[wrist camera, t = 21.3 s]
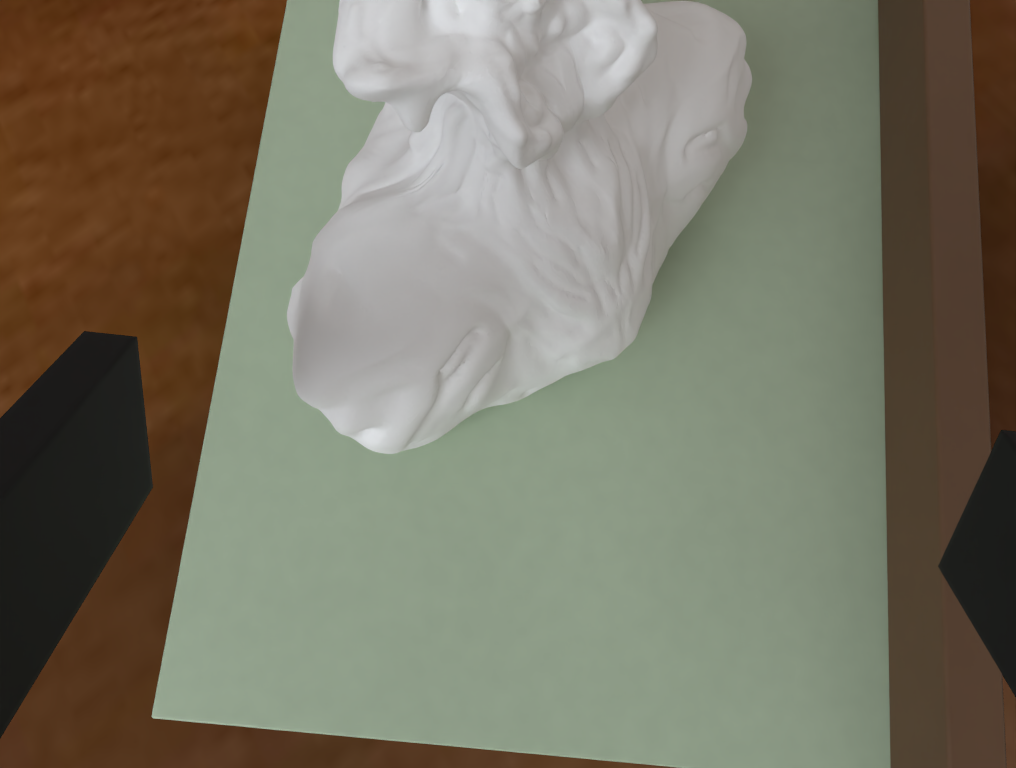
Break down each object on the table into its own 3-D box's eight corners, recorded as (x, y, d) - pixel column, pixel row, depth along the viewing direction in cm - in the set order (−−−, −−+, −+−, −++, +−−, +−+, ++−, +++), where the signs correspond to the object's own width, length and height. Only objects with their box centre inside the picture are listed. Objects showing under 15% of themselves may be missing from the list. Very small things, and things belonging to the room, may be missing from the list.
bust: (651, 160, 25) (504, -304, 18) (888, 237, 20) (824, -379, 12) (324, 441, 22) (-16, 39, 15) (497, 619, 17) (103, 133, 10)
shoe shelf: (210, 698, 23) (108, 732, 16) (334, -9, 29) (298, -213, 22) (843, 757, 24) (1011, 815, 17) (840, 56, 30) (965, -121, 23)
